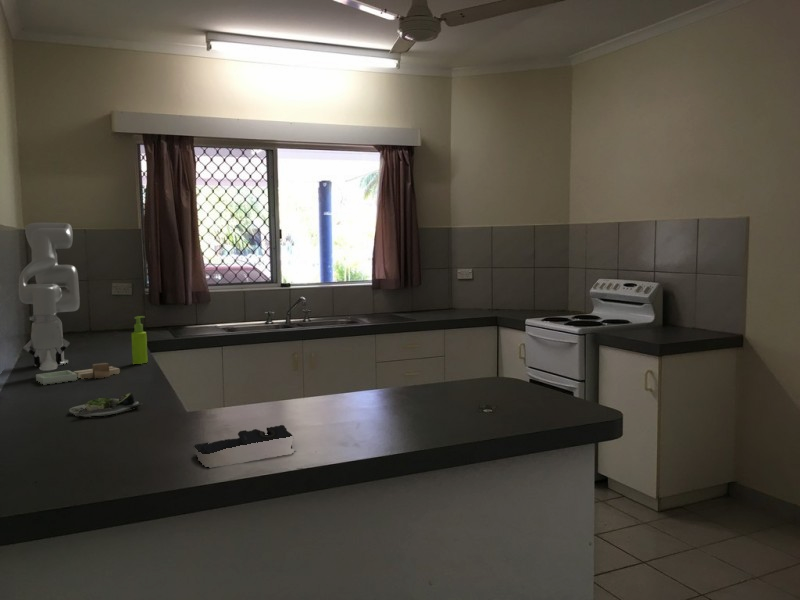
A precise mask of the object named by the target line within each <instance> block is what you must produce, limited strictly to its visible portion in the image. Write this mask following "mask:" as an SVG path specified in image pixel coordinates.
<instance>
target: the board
mask: <svg viewBox="0 0 800 600" xmlns="http://www.w3.org/2000/svg"><path fill="white" fill-rule="evenodd" d="M120 369H121V368H119V367H116V366H113V365H111V366H110V365H109V374H110V376H114V375H113V374H115V375H120V374H121V373H120V372H121V370H120ZM73 372H74V373H76V374H77V377H78V378H77V379H79V378H81V379H80V380H85V379H84V378H88V379H94V378H93V368H89V369H82V370H73ZM119 373H120V374H119Z"/></svg>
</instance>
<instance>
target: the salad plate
mask: <svg viewBox="0 0 800 600" xmlns="http://www.w3.org/2000/svg"><path fill="white" fill-rule="evenodd" d="M142 405H143V403H142V402H141V403H140V402H139V401H137V400H135V397H134V395H133V393H132V392H129V393H127V394H125V395H121V396H119V398H110V397H99V398H97V399H96V398H95V399H93V400H88V401H87V402H86V403H85V404H84V403H83V404H81V405H76V406H72V407H71V408H69V409H68V413H69V414H70V415H72V414H73V416H74V415H75V417H79V416H83V417H82V418H87V417H89V418H92V417H91V416H104V417H106V416H105V415H111V414H115V413H119V412H122V411H125V410H129V409H133V408H136V407H137V408H139V407H140V406H142ZM85 408H86V409H87V410H86V411H82V412H80V413H79V411H80V410H83V409H85ZM137 408H136V409H137Z"/></svg>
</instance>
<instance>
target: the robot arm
mask: <svg viewBox="0 0 800 600" xmlns="http://www.w3.org/2000/svg"><path fill="white" fill-rule="evenodd" d="M24 232H25V237H26V241H27V242H28V245H29V247H30V249H31V262H29V263H28V264H27V265H26V266H25V267H24V268H23V270H22V271H21V273H20V275H19V278H18V296H19V297H18V298H19V300H20V302H21V303H23V304H25V305H32V309H33V314H32V316H29V317H28V318H29V321H32V324H31V330H30V340H29V341H28V342H27V343H26V344H24V346H23V347H22V348H23V350H25V351H26V352H28V353H29V354H30V355H32V356H33V361H34V367H37V368H39V367H40V362H41V361H43V360H44V359H45V356H46V349H49V351H50V355H51V358H52V359H53V360H55V361H56V362H57V364H58V366H63V364H64V365H67V364H69V359H65V350H66V349H67V348H68V346H69V345H71V344H70V343H71V342H70V341H68V340H66V338H64V335H63V323H62V320H61V319H60V318H59V316H57V314H58V313H66V312H67V313H69V312H71V313H72V312H76V311H78V310H79V309H80V304H81V302H80V300H81V298H80V287H79V285H80V284H79V274H78V269H77V267H76V266H74V265H72V264H59V263H58V254H57V252H56V250H59V249H61V250H62V249H63V250H64V249H70V248H71V247H72V245H73V239H74V237H73V236H74V233H73V228H72V225H71V224H70V223H68V222H31V223H28V224H27V225H26V226H25V229H24ZM34 276H35V282H36V283H30V284H28V282H29V280H30V279H31V278H32V277H34ZM62 288H66V289H62ZM30 347H31V348H33V350H32V349H31V348H30ZM66 363H67V364H66Z"/></svg>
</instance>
